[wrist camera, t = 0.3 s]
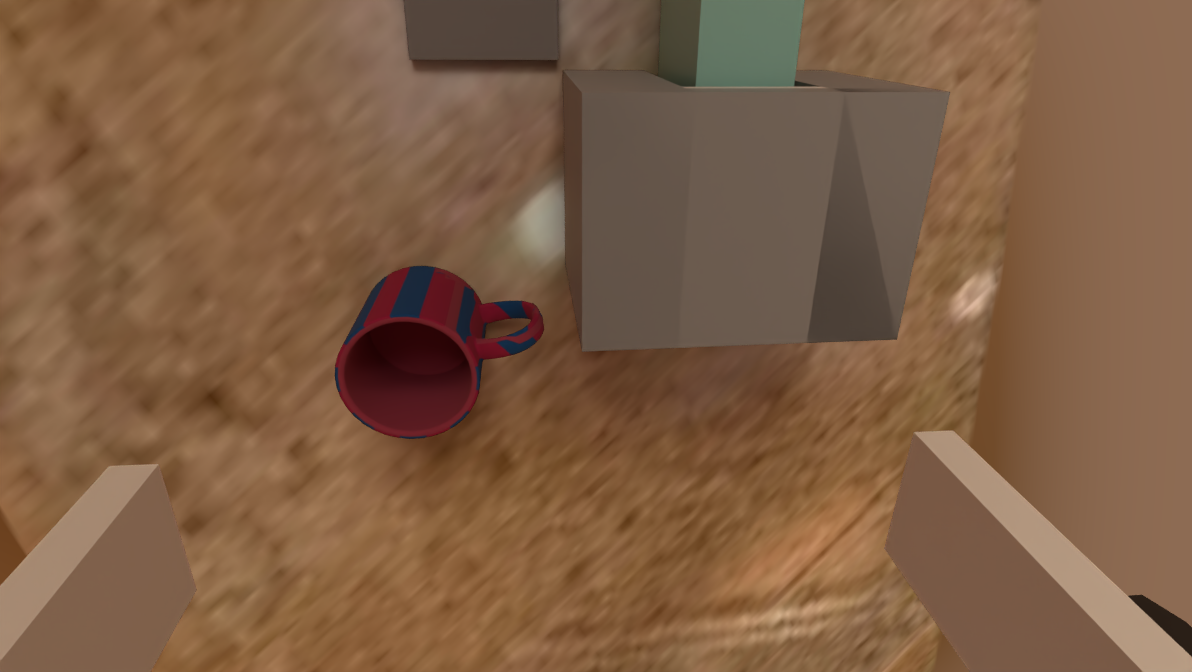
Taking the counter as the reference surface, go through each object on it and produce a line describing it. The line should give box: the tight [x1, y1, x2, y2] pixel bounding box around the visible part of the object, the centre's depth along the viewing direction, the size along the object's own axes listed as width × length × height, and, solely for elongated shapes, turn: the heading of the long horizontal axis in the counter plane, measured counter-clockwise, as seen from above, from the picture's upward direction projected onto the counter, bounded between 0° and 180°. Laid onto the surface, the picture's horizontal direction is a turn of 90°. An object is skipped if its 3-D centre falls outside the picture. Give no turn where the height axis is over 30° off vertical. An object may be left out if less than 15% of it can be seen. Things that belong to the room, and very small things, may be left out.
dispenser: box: [563, 70, 950, 352], centre depth 31 cm, size 10×14×11 cm
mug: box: [335, 266, 544, 439], centre depth 35 cm, size 7×10×7 cm
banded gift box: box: [658, 0, 805, 87], centre depth 30 cm, size 12×4×8 cm, turn 179°
